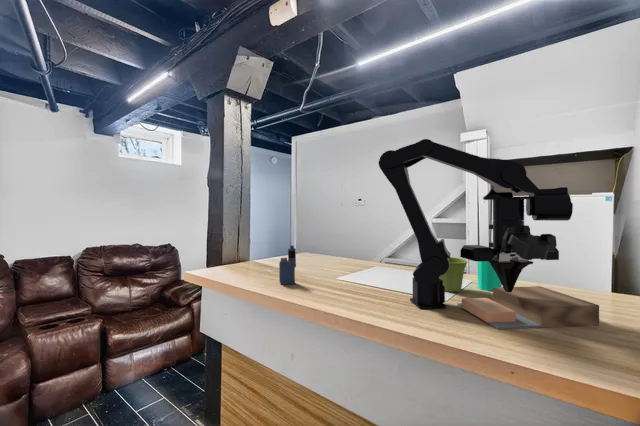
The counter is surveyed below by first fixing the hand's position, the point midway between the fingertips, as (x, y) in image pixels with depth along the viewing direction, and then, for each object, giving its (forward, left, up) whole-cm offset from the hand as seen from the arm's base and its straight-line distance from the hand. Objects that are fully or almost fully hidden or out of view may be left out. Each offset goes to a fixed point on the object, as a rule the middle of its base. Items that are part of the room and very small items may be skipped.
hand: (508, 291), depth 62 cm
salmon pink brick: (-5, 0, -3) cm, 6 cm away
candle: (+9, +20, -5) cm, 23 cm away
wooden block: (+7, 0, -5) cm, 9 cm away
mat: (-3, 0, -5) cm, 6 cm away
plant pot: (-3, +20, -5) cm, 21 cm away
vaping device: (-50, +31, -5) cm, 59 cm away
